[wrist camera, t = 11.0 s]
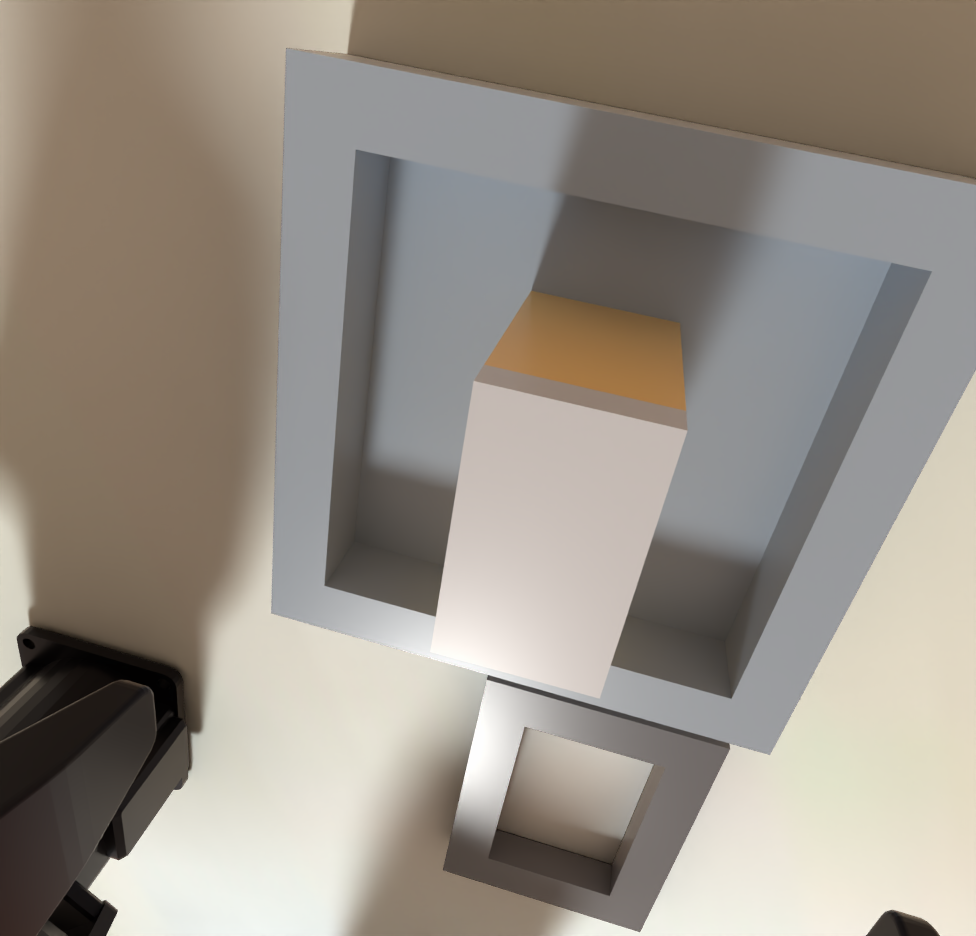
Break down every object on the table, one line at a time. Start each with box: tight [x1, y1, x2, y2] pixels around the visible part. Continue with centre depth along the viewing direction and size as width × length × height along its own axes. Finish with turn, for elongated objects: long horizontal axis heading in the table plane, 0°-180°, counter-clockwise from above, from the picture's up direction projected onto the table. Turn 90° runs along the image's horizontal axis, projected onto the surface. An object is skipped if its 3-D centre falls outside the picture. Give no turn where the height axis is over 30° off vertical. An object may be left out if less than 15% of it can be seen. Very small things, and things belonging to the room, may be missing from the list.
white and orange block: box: [430, 291, 688, 699], centre depth 16 cm, size 4×6×6 cm, turn 173°
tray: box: [271, 48, 976, 755], centre depth 18 cm, size 14×14×3 cm
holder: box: [443, 675, 730, 932], centre depth 25 cm, size 8×10×1 cm
